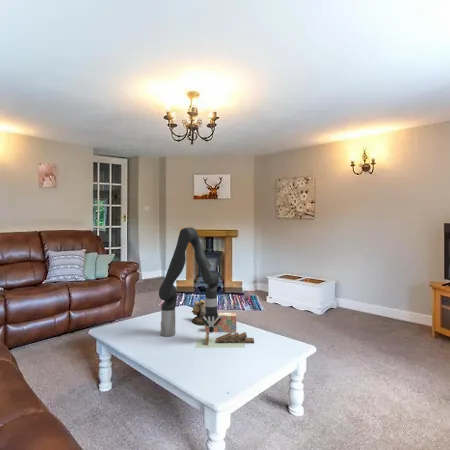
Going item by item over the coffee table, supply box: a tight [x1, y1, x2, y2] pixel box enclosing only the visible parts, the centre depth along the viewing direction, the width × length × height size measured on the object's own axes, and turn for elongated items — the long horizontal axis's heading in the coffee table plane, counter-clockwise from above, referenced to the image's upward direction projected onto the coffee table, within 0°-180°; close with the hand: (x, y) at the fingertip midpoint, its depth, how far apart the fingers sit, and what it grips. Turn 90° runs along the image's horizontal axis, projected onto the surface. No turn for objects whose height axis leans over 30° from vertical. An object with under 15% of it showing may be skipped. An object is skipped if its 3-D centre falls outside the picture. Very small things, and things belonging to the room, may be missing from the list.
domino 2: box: [215, 333, 233, 343], centre depth 204 cm, size 2×5×10 cm
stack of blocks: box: [204, 312, 237, 334], centre depth 223 cm, size 21×6×12 cm, turn 85°
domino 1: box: [205, 331, 210, 345], centre depth 203 cm, size 2×5×10 cm
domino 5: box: [238, 337, 255, 344], centre depth 204 cm, size 2×5×10 cm
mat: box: [194, 337, 246, 349], centre depth 203 cm, size 30×16×1 cm, turn 90°
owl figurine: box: [191, 299, 205, 327], centre depth 243 cm, size 18×12×17 cm, turn 51°
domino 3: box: [224, 331, 240, 343], centre depth 204 cm, size 2×5×10 cm
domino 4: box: [231, 331, 248, 343], centre depth 203 cm, size 2×5×10 cm
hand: (211, 332), depth 203 cm, fingers closed
